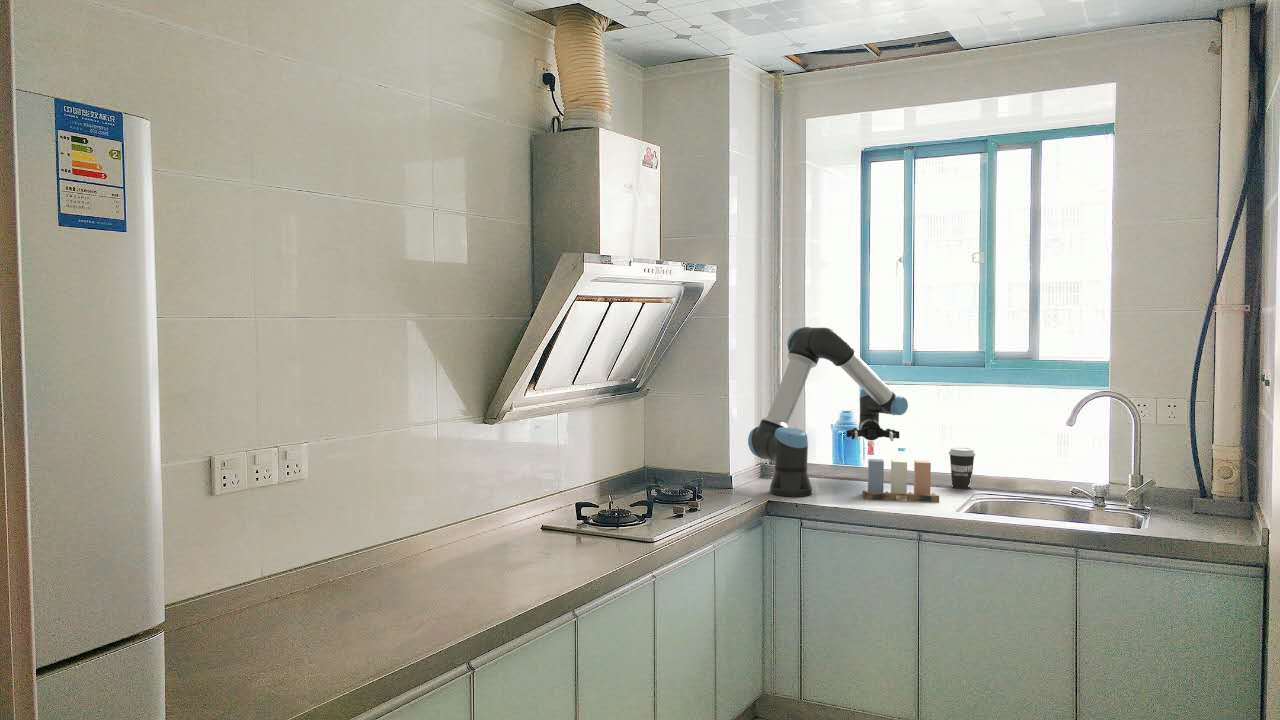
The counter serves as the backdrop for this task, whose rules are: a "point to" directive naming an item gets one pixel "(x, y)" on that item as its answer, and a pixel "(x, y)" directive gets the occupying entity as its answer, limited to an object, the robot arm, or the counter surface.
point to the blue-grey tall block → (875, 475)
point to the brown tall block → (922, 477)
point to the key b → (899, 476)
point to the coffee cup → (961, 466)
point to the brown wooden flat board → (900, 497)
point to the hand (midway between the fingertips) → (874, 437)
